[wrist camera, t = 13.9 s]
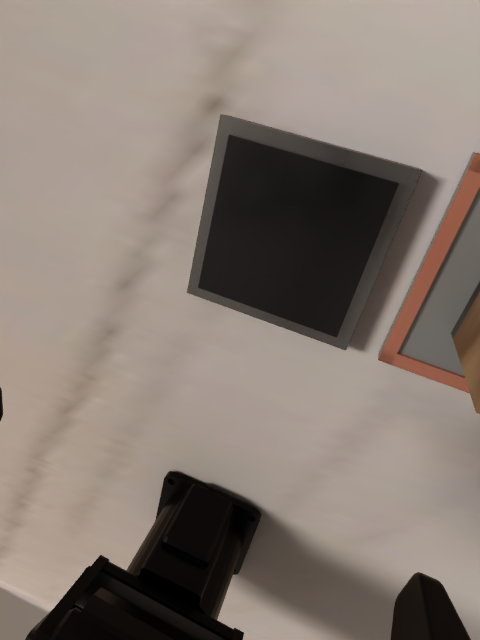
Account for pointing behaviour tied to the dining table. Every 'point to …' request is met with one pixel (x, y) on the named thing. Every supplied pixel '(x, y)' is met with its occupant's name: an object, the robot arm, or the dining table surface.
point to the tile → (440, 291)
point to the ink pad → (296, 228)
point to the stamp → (470, 345)
